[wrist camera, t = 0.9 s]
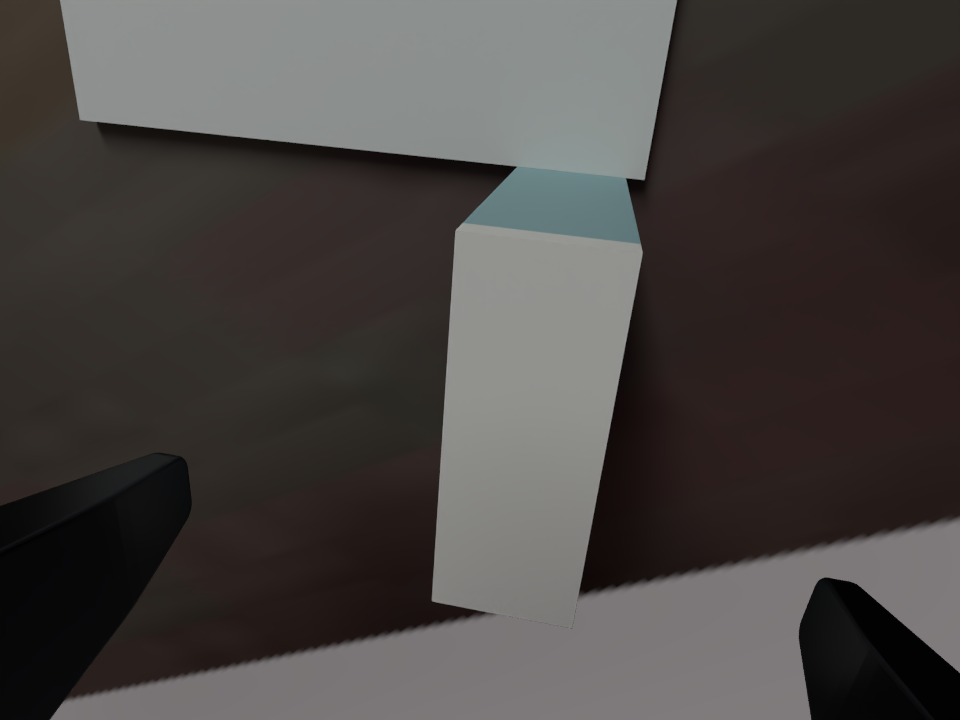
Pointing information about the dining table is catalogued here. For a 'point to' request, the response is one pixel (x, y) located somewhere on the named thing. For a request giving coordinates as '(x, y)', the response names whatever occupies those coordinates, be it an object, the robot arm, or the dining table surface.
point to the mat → (386, 75)
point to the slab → (531, 389)
